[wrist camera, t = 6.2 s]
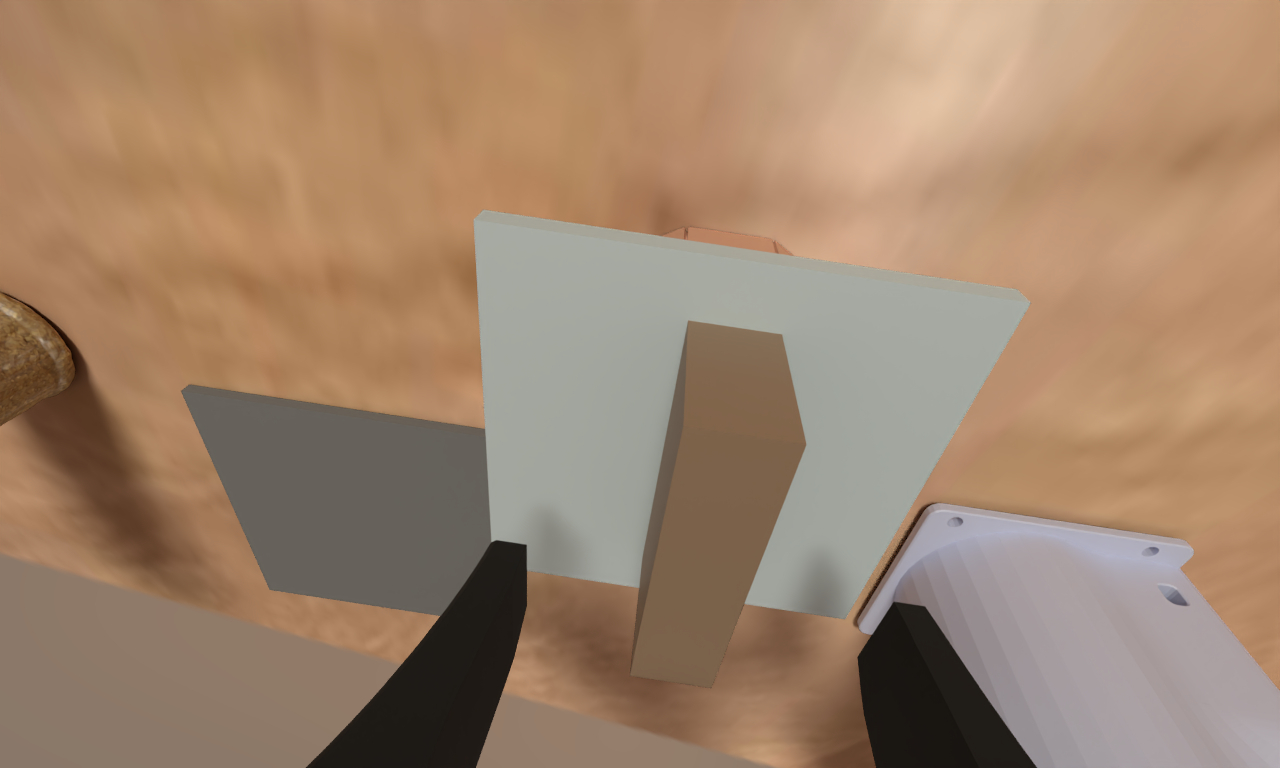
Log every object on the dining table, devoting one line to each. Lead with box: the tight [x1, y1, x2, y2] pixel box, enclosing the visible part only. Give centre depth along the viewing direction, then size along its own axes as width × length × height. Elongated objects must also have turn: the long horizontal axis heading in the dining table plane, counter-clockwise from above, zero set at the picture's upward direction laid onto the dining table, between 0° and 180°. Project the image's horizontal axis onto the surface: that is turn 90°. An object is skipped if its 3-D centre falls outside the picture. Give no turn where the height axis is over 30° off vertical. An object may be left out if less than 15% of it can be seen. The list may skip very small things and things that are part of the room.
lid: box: [474, 210, 1031, 688], centre depth 13 cm, size 11×11×4 cm
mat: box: [181, 385, 491, 616], centre depth 24 cm, size 12×12×1 cm
